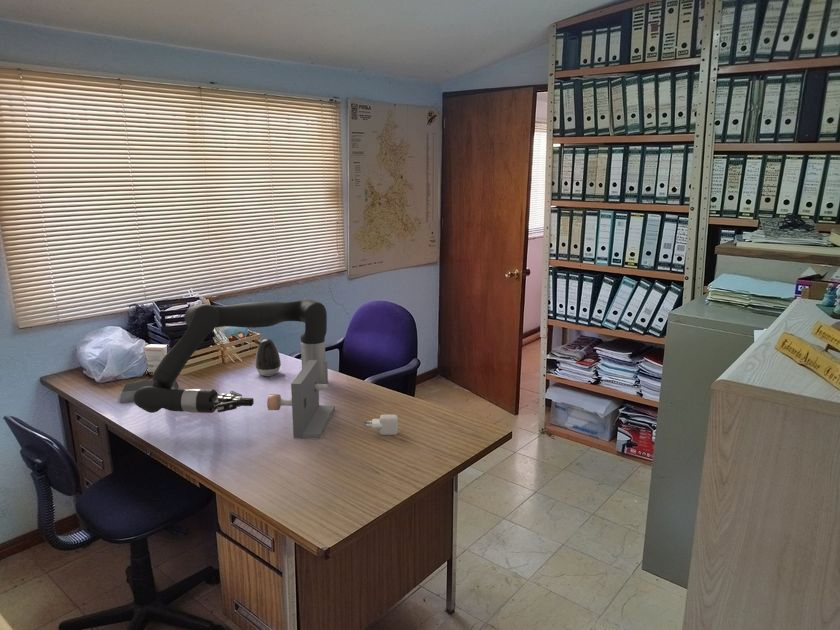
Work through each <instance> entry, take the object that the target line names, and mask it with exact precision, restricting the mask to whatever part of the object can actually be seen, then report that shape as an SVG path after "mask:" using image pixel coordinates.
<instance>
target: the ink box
mask: <svg viewBox="0 0 840 630" xmlns="http://www.w3.org/2000/svg"><path fill="white" fill-rule="evenodd" d="M167 345H168V344H157V343H156V344H154V343H153V344H152V343H150V344H147V345H145V346H143V353H144V352H145V354H144V356H145V355H146V358H147V363H148V369H147V371H148V372H153V373H154V371H155V370H156V368H157V367H158V365H159V364H160V362H161V361H162V359H163V358H164V357H165V355H166V354H167ZM147 371H146V372H147Z"/></svg>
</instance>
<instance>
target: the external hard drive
mask: <svg viewBox="0 0 840 630" xmlns="http://www.w3.org/2000/svg"><path fill="white" fill-rule="evenodd" d="M153 383H154V379H153V380H151V379H150V380H144V381H143V380H142V381H136V382H135V381H134V382H130V383H126V384H124V386H123V388H122V391H121V393H120V397H119V403H129V402H133V403H134V394H135V392H136V391H137V390H138V389H140V388H142V387H146V386H153ZM179 387H180V386H179V384H178V381H177V379H176V380H175V382H174V383H173V385H172V388H171V389H180V388H179Z"/></svg>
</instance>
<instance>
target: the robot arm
mask: <svg viewBox="0 0 840 630" xmlns="http://www.w3.org/2000/svg"><path fill="white" fill-rule="evenodd" d="M327 315H328V314H327V309H326V307H325V305H324V304H323V303H321V302H319V301H316V300H313V299H301V300H300V299H299V300H295V301H285V302H283V301H282V302H280V301H257V302H256V301H252V302H243V303H242V302H241V303H237V304H231V305H211V304H208V303H199V304H194V305H191V306H190V307H189V308H188V309H187V310H186V312H185V313H184V321H185V323H186V324H185V325H187V329H186V330H185V332H184V334H183V335H182V337H180V339H179V340H178V341H177V343H175V344H174V346H172V347H171V348H170V349H169V352H168V353H167V354H166V355H165V357H164V358H163V359H162V361H161V362H160V364H159V365H158V367H157V368H156V370H155V371H154V373H153V374H152V379H153V380H154V383H153V386H146V387H142V388H140V389H138V390H137V391H136V392H135V394H134V401H133V403H134V405H136V407H138V408H140V409H142V410H143V411H145V412H147V413H150V414H152V413H157V412H159V411H160V410H161V409H164V410H167V411H170V412H183V413H184V412H187V413H192V414H193V413H195V414H196V413H197V414H198V413H201V414H213V413H215V412H217V413H222V412H223V413H224V412H228V411H232V410H237V408H240V407H252V406H253V405H254V403H255V402H254V401H255V400H254V398H253V397H243V394H242V393H239V392H237V391H234V390H231V391H229V393H228V394H227V393H225V392H224V393H220V394H219V393H218V392H217V390H216V389H214V388H190V389H189V388H188V389H187V388H186V389H183V388H182V389H181V388H178V389H171V388H172V385H173V383H174V382H175V380H176V381H177V378H178V377H179V375H180V373H181V372H182V371H183V369H184V367H185V366H186V365H187V363H188V361H189V360H190V359H191V357H192V355H193V354H194V353H195V351H196V350H197V349H198V347H199V346H200V345H201V344H202V343H203V342H204V340H205V339H206V338H207V337H208V335H209V334H210V333H212V331H213V330H214V329H215V328H223V327H229V328H230V327H231V328H246V329H247V328H251V329H252V328H266V327H273V326H275V325H277V324H280V323H283V322H301V323H304V324H305V325H304V332H303V333H301V335H300V353H301V354H300V355H301V356H300V358H301V370H302V369H303V367H304V366H305V365H306V363H307V362H308V361H309V360H318V384H328V383H329V373H328V371H329V369H328V359H326V342H325V341H326V340H325V338H326V334H327V330H328V328H327V326H328V316H327ZM216 410H217V411H216Z"/></svg>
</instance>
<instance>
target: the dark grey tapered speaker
mask: <svg viewBox="0 0 840 630" xmlns="http://www.w3.org/2000/svg"><path fill="white" fill-rule="evenodd" d="M253 342H254V343H255V344H256V345H258V347H257V349H256V350H257V351H256V354H255V364H254V365H255V366H254V367H255V368H256V371H257V373H258V374H259V375H260V376H263V377H271V376H274V375H275V376H276V374H277V373H278V372H279V371H280V367H281V365H282V361H281V356H280V353H279V349H278V348H277V346H276V343H275V342H274V341H273V339H271V338H264V339H262V340H261V341H259V340H256V339H255V340H254V341H253Z"/></svg>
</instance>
